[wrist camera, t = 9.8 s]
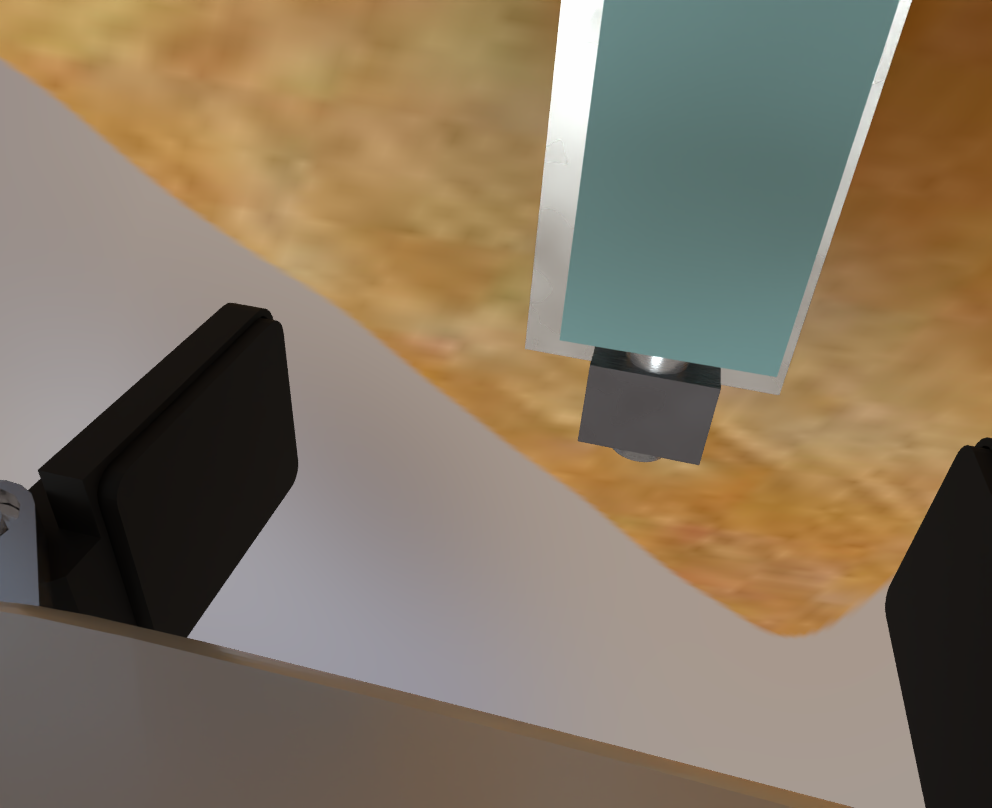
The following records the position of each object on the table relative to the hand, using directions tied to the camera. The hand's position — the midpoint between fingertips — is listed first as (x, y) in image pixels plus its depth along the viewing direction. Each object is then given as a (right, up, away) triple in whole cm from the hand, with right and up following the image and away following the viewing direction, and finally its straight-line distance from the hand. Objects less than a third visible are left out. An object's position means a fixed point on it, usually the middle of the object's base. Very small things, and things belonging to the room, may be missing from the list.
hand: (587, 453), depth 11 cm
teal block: (+5, +9, +13) cm, 16 cm away
